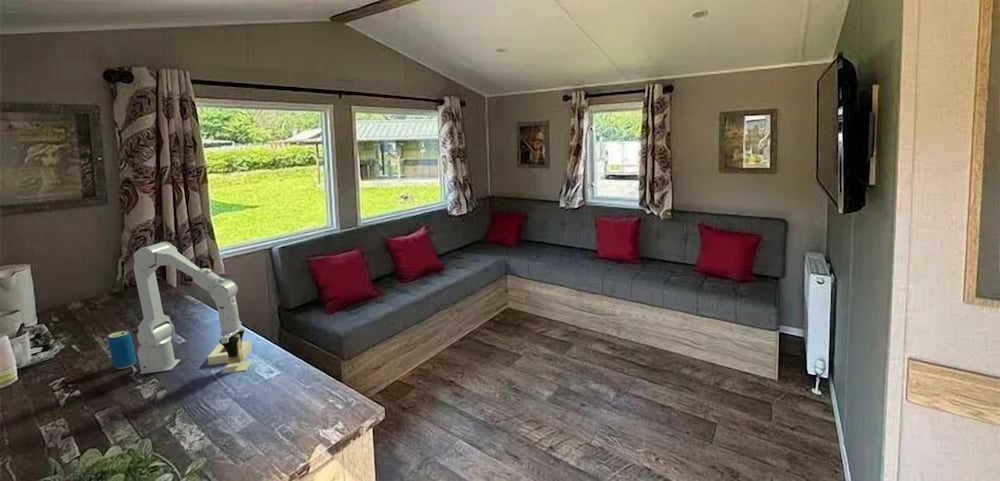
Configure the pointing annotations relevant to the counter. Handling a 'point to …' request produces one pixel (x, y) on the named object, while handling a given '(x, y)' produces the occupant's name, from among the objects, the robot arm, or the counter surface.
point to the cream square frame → (221, 358)
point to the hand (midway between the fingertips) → (235, 354)
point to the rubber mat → (237, 367)
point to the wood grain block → (239, 352)
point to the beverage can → (122, 349)
